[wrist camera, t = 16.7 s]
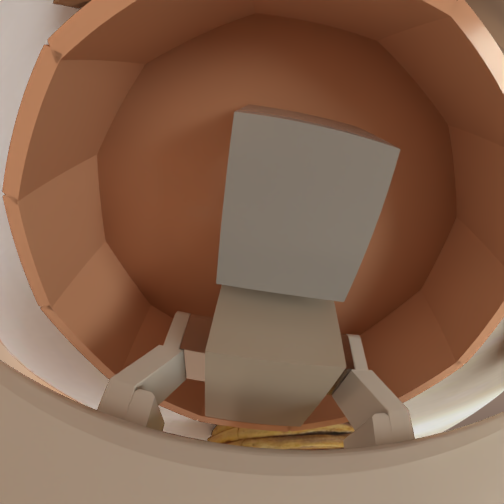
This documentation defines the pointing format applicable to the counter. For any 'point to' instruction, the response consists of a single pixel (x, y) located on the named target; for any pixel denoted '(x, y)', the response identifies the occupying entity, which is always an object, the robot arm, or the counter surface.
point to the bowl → (216, 161)
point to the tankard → (284, 437)
